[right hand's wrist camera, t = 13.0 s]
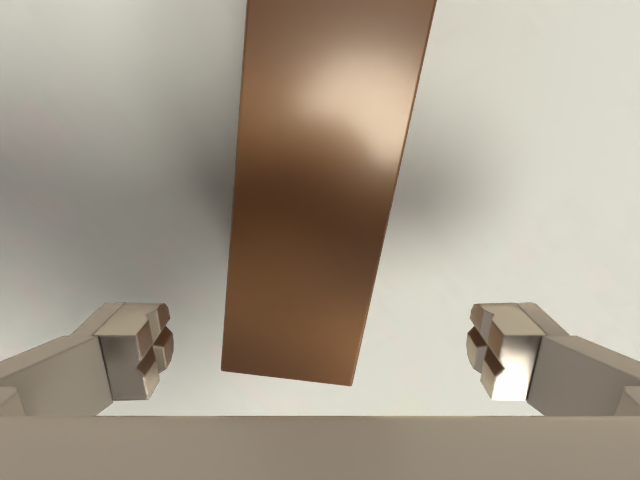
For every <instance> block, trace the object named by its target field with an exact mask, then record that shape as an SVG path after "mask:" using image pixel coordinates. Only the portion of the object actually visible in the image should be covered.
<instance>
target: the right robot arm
mask: <svg viewBox="0 0 640 480" xmlns="http://www.w3.org/2000/svg"><path fill="white" fill-rule="evenodd" d="M169 319H170V315H169V310H168V307H167V306H166V305H165V304H163V303H126V302H123V303H105V304H103V305H102V306H101V307H100V308H99V309H98V310H97V311H96V312H95V313H94V314H93V315H92V316H90V317H89V318H88V319H87V320H86V321H85V322H84V323H83V324H82V325H81V326H80V327H79V328H77V329H76V330H75V331H74V332H73V333H72V334H71V335H70V336H62V337H59V338H57V339H54V340H52V341H50V342H47V343H45V344H42V345H40V346H37V347H35V348H32V349H30V350H28V351H25V352H23V353H20V354H18V355H15V356H13V357H11V358H8V359H6V360H3V361H1V362H0V480H640V362H639V361H637V360H634V359H632V358H629V357H627V356H624V355H622V354H620V353H617V352H615V351H612V350H610V349H607V348H605V347H603V346H600V345H598V344H595V343H593V342H590V341H588V340H586V339H583V338H581V337H578V336H570V335H569V334H568V333H567V332H566V331H565V330H564V329H563V328H562V327H560V326H559V325H558V324H557V323H556V322H555V321H554V320H553V319H552V318H551V317H550V316H549V315H547V314H546V313H545V312H544V311H543V310H542V309H541V308H540V307H539V306H538V305H537V304H535V303H531V302H527V303H486V304H474V305H473V307H472V310H471V315H470V319H471V321H472V322H473V324H474V325H475V326H474V327H473V328H472V329H471V330H470V331H469V332H468V334H467V343H466V346H467V355H468V358H469V361H470V363H471V365H472V367H473V369H475V370H476V371H478V372H480V373H481V380H480V381H481V383H482V384H483V386H484V388H485V389H486V391H487V393H488V395H489V396H490V398H491V400H518V401H527V403H529V404H530V405H531V406H533V407H534V408H535V409H536V410H538V411H539V412H540V413H542V414H543V415H544V416H96V415H97V414H98V413H100V412H101V411H102V410H104V409H105V408H106V407H108V406H109V405H110V404H112V403H113V401H121V400H149V398H150V396H151V395H152V393H153V391H154V389H155V388H156V386H157V384H158V383H159V381H160V380H159V373H160V372H162V371H164V370H165V369H167V367H168V365H169V363H170V361H171V358H172V354H173V334H172V332H171V331H170V330H169V329H168V328H167V327H166V326H165V325H166V324H167V322H168V321H169Z"/></svg>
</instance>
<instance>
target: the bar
mask: <svg viewBox="0 0 640 480" xmlns="http://www.w3.org/2000/svg"><path fill="white" fill-rule="evenodd" d="M436 2H437V0H247V7H246V21H245V35H244V49H243V63H242V77H241V91H240V105H239V119H238V134H237V148H236V162H235V176H234V190H233V204H232V218H231V232H230V246H229V260H228V274H227V288H226V303H225V317H224V331H223V345H222V359H221V370H222V371H226V372H235V373H243V374H251V375H260V376H268V377H277V378H285V379H294V380H302V381H310V382H319V383H327V384H336V385H344V386H351V385H352V383H353V379H354V374H355V370H356V365H357V360H358V356H359V351H360V347H361V342H362V338H363V333H364V329H365V324H366V320H367V315H368V311H369V306H370V301H371V297H372V292H373V288H374V283H375V279H376V274H377V270H378V265H379V261H380V256H381V252H382V247H383V242H384V238H385V233H386V229H387V224H388V220H389V215H390V211H391V206H392V202H393V197H394V193H395V188H396V183H397V179H398V174H399V170H400V165H401V161H402V156H403V152H404V147H405V143H406V138H407V134H408V129H409V124H410V120H411V115H412V111H413V106H414V102H415V97H416V93H417V88H418V84H419V79H420V75H421V70H422V65H423V61H424V56H425V52H426V47H427V43H428V38H429V34H430V29H431V25H432V20H433V16H434V11H435V6H436Z"/></svg>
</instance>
